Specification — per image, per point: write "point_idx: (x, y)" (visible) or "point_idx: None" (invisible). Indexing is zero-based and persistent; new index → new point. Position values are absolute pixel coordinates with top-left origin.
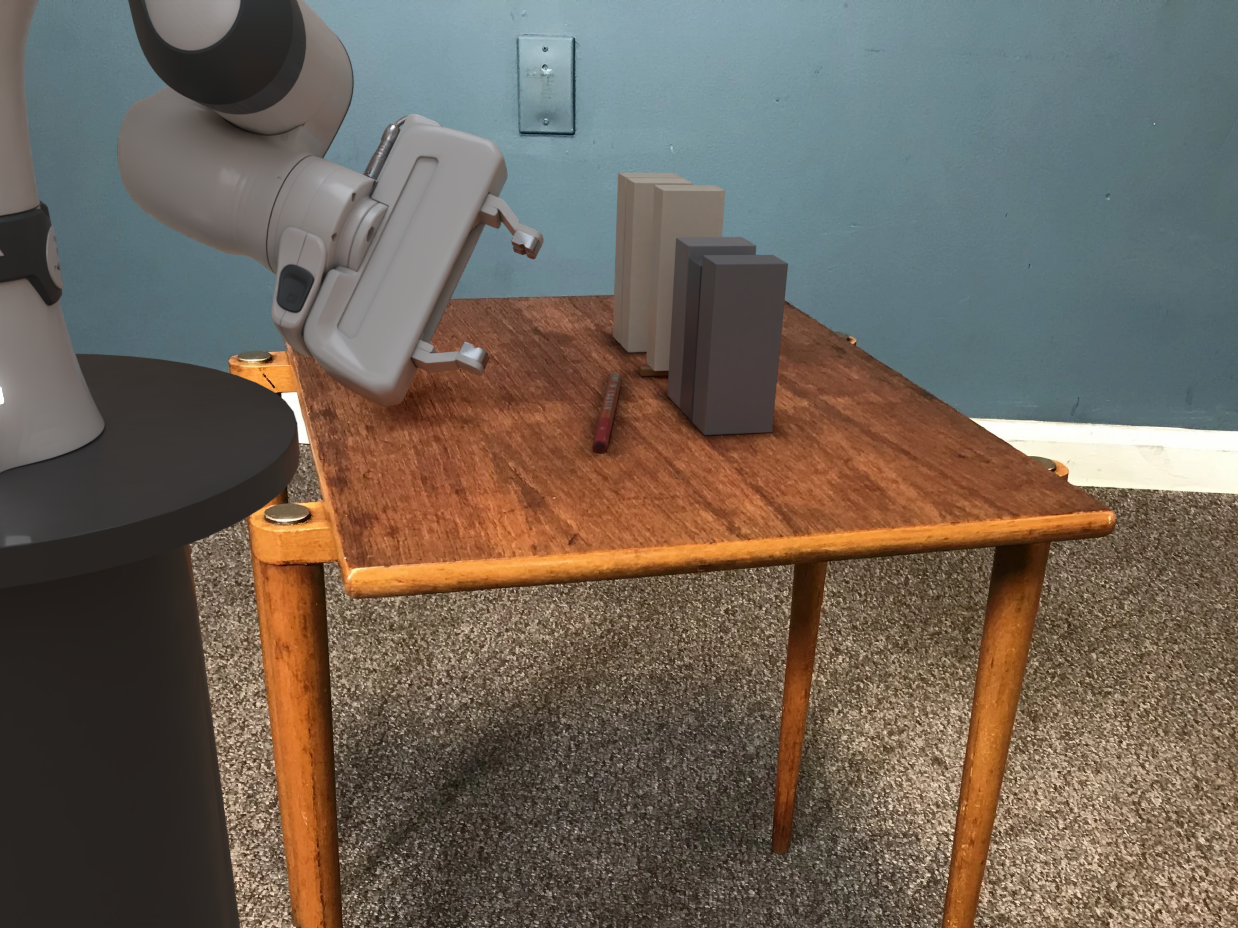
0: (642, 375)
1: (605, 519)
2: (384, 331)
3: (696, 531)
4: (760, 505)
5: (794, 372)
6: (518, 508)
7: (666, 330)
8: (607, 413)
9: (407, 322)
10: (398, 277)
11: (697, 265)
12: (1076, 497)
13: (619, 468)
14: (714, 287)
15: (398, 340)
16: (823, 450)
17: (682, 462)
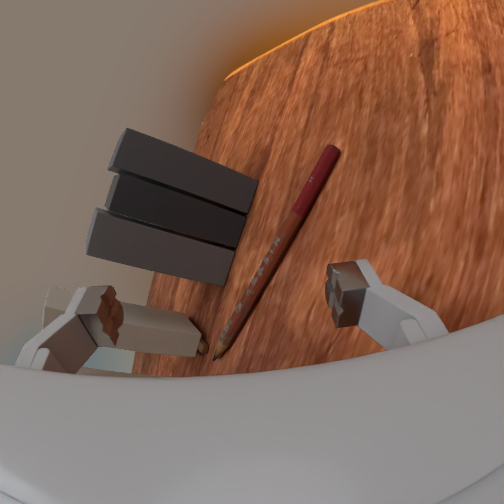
0: (208, 346)
1: (388, 28)
2: (481, 400)
3: (348, 24)
4: (303, 61)
5: (167, 295)
6: (442, 37)
7: (165, 325)
8: (285, 223)
9: (421, 372)
10: (313, 494)
11: (118, 182)
12: (216, 93)
13: (341, 113)
14: (145, 135)
15: (469, 355)
16: (233, 146)
17: (299, 125)
